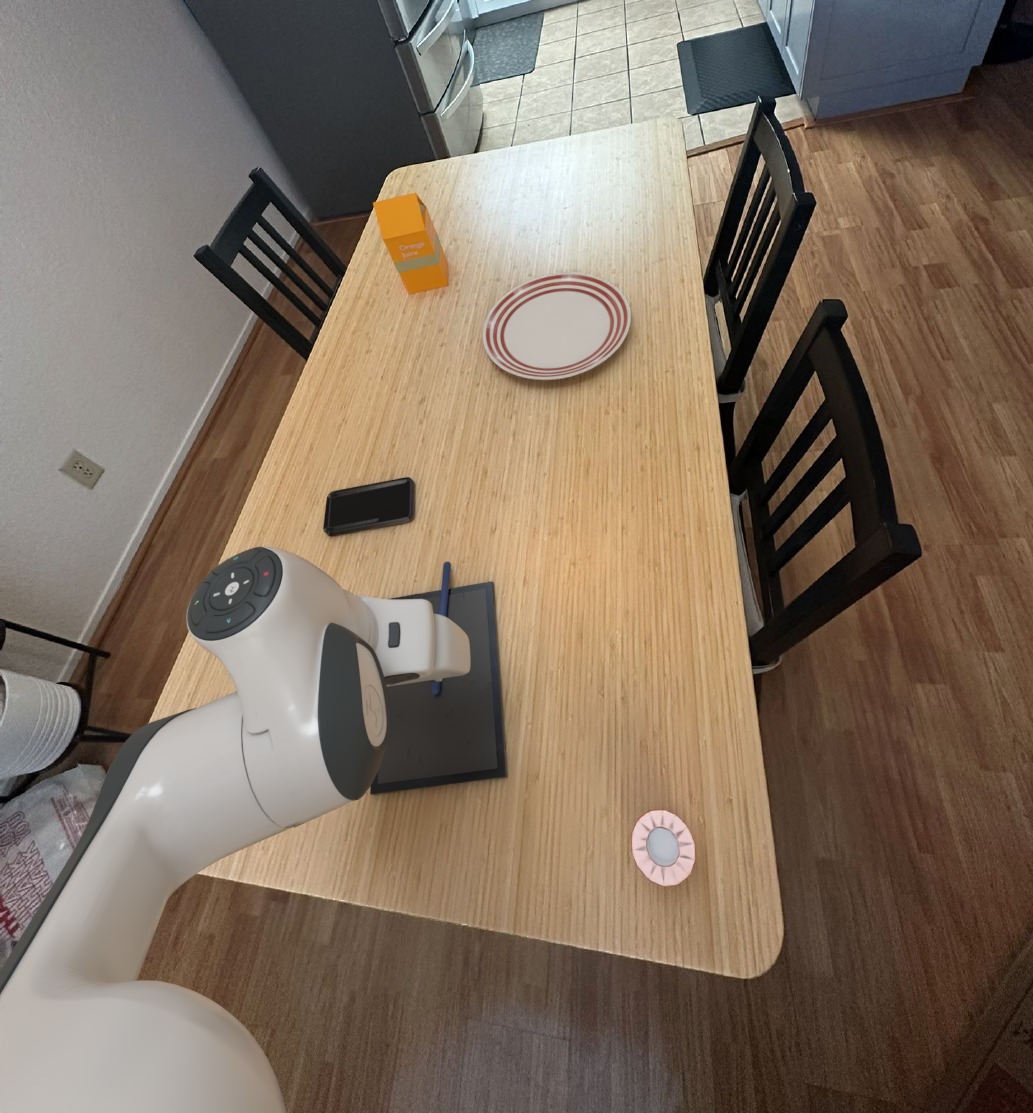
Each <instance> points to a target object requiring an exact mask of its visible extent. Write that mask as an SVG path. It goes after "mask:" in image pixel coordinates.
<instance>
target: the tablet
mask: <svg viewBox="0 0 1033 1113" xmlns="http://www.w3.org/2000/svg"><path fill="white" fill-rule="evenodd" d="M495 592H496V591H495V583H494V582H493V581H486V582H480V583H474V584H473V583H472V584H467V585H462V586H456V587H449V593H448V605H447V616H446V617H447V618H449V619H450V620H451V621H453V622H454V623H455V624H456V625H458V626H459V627H460V628H461V629H462V630H463V631H464V632H465V633H466V634H467V636H468V638H469V644H470V670H469V672H468V673H467V674H465V675H462V676H455V677H448V678H442V681H441V683H440V692H439V694H438V695H433V694H432V693H431V688H432V683H428V682H426V681H422V682H415V683H408V684H402V685H395V686H388V687H387V690H388V695H389V702H390V710H391V731H390V736H389V740H388V743H387V747H386V750H385V753H384V756H383V759H382V762H381V765H380V768H379V770H378V772H377V774H376V776H375V779H374V781H373V782H372V784H371V786H370V787H369V795H370V796H377V795H385V794H392V793H400V792H407V791H417V790H421V789H422V790H423V789H431V788H438V787H445V786H446V787H447V786H453V785H454V786H455V785H462V784H469V783H470V784H471V783H476V782H486V781H491V780H492V781H493V780H500V779H507V778H508V777H509V772H508V759H507V758H508V757H507V746H506V744H507V743H506V732H505V730H506V729H505V717H504V716H505V715H504V702H503V689H502V677H501V676H502V674H501V663H500V662H501V661H500V647H499V634H498V622H497V621H498V619H497V607H496V593H495ZM440 595H441V589H438V590H432V591H426V592H420V593H414V594H409V595H403V596H397V597H391V598H389V599H424V600H427V601H429V602H430V603H431V604H432V608H433V614H439V605H440Z"/></svg>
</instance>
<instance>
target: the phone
mask: <svg viewBox="0 0 1033 1113" xmlns="http://www.w3.org/2000/svg"><path fill="white" fill-rule="evenodd" d="M415 515H416V483H415V481H414V479H413V478H412V477H409V476H405V477H399V478H394V479H389V480H384V481H379V482H374V483H368V484H364V485H358V486H352V487H346V488H342V489H336V490H333V491H330V492H329V493H328V494H327V496H326V500H325V509H324V518H323V527H322V530H323V532H324V533H325V534H326V535H327V536H328V537H336V536H340V535H347V534H352V533H358V532H363V531H369V530H374V529H379V528H385V527H392V526H396V525H402V524H407V523H411V522H412V521H413V520H414V518H415Z"/></svg>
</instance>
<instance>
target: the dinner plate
mask: <svg viewBox="0 0 1033 1113" xmlns="http://www.w3.org/2000/svg"><path fill="white" fill-rule="evenodd" d="M631 321H632V313H631V307H630V303H629V301H628V300H627V297H626V296H625V294H624V293H623V292H622V291H621V289H619V288H618V287H617V286H616V285H614V284H613V283H611V282H610V281H608V280H606V279H605V278H602V277H600V276H597V275H594V274H589V273H584V272H574V271H563V272H553V273H548V274H544V275H540V276H537V277H534V278H531V279H528V280H526V281H524V282H522V283H520V284H519V285H516V286H515V287H513V288H511V289H510V290H509V291H508V292H506V293H505V294H503V295H502V296H501V297H500V298H499V299H498V300H497V301H496V303H494V305H493V306H492V307H491V309H490V310H489V312H488V314H487V316H486V318H485V320H484V323H483V327H482V333H481V334H482V343H483V347H484V350H485V352H486V354H487V356H488V357H489V358H490V360H491V361H492V362H493V363H494V364H495V365H496V366H497V367H498V368H500V369H501V370H503V371H505V372H507V373H508V374H510V375H514V376H516V377H519V378H523V379H528V380H536V381H537V380H538V381H553V380H562V379H567V378H571V377H575V376H578V375H581V374H583V373H586V372H588V371H590V370H592V369H594V368H596V367H597V366H599V365H601V364H603V363H604V362H605V361H607V360H608V359H609V358H610V357H611V356H612V355H613V354H614V353H615V352H617V350H618V349H619V348H620V347H621V346H622V344H623V343H624V341H625V339H626V338H627V335H628V333H629V330H630V327H631Z"/></svg>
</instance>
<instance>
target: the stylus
mask: <svg viewBox="0 0 1033 1113" xmlns="http://www.w3.org/2000/svg"><path fill="white" fill-rule="evenodd" d="M451 568H452V563H451V562H450V561H448V560H447V561H445V562H444V563H443V565H442V574H441V585H440V590H441V595H440V605H439V615H442V616H445V617H446V616H447V605H448V593H449V588H450V581H451V571H452V569H451ZM440 683H441V681H439V682H432V688H431V693H432V694H433V695H438V694H439V692H440Z"/></svg>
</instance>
